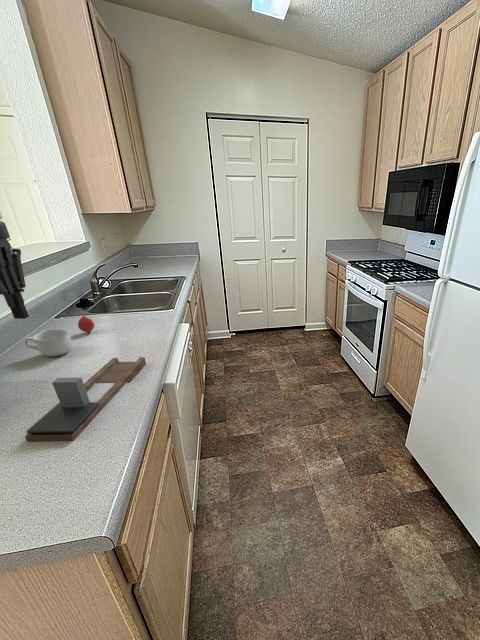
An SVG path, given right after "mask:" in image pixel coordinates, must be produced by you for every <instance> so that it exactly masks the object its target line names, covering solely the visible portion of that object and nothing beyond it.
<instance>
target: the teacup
mask: <svg viewBox="0 0 480 640" xmlns="http://www.w3.org/2000/svg"><path fill="white" fill-rule="evenodd" d="M69 333H70V332H69V330H68V329H66V328H51V329H45V330H43V331H41V332H40V331H39V332H38V333H36V334H35V335H34V336H27V337H26V338H25V339H24V344H25V346H26V347H28V348H30V349H32V350H36V351H38V352H39V353H40V354H42V355H44V356H47V357H51V358H54V357H55V358H56V357H60V356H63V355H66V354H67V353H68V352H69V351H70V350H71V348H72V346H73V343H72V339H71V336H70V334H69ZM30 340H31V341H32V342H34V344H35V345H33V344H31V343H29V341H30Z"/></svg>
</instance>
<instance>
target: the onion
mask: <svg viewBox="0 0 480 640" xmlns="http://www.w3.org/2000/svg"><path fill="white" fill-rule="evenodd" d="M77 327H78V329H79V330H80V331H81V332H84V333H88V334H90V333H91V332H92V331H93V330H94V328H95V323H94V321H93V320H92V319H91V318H89V317H87V316H86V314H84V315H82V317H80V318H79V320H78V321H77Z"/></svg>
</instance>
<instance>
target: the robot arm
mask: <svg viewBox="0 0 480 640" xmlns="http://www.w3.org/2000/svg"><path fill="white" fill-rule="evenodd" d="M3 218H4V217H3V215H2V212H1V211H0V296H1V295H2V296H3V298H4V300H5V302H6V304H7V307H8V308H9V309H10V311H11V313H12V314H11V315H12V316H13V319H18V320H19V319H22V320H24V319H27V318H29V317H30V316H29V313H28V311H27V308H26V305H25V300H24V297H23V295H22V293H24V292H25V288H26V280H25V274H24V270H23V264H22V259H21V256H22V250H21V249H20V248H15V247H12V245H11V243H10V242H9V240H8V239H9V238H10V237H11V236H10V232H9V230H8V227H7V225H6V222H4V221H2V219H3Z"/></svg>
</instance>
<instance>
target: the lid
mask: <svg viewBox="0 0 480 640" xmlns="http://www.w3.org/2000/svg"><path fill="white" fill-rule="evenodd" d="M51 384H52V386H53V388H54V391H55V394H56V396H57V400H58V403H57V404H56V405H55V406H53V407H52V408H51V409H50V410H49V411H48V412H47V413H46V414H44V415H43V416H42V417H40V419H39V420H37V421H36V422H35V423H34V424H33V425H32V426H30V428H28V429H27V430H26V433H27V434H28V433H72V432H73V431H74V430H75V429H76V428H77V427H78V426H79V425H80V424H81V423H82V422H83V421H84V419H85V418H86V417H87V416H88V415H89V414H90V413H91V412H92V411H93V410H94V409H95V408H96V407H97V406H98V405H99V402H98V401H96V402H95V401H93V402H92V401H90V399H89V396H88V391H87V392H86V390H85V387H84V381H83V378H82V377H57V378H56V379H54V381H52V382H51Z"/></svg>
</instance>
